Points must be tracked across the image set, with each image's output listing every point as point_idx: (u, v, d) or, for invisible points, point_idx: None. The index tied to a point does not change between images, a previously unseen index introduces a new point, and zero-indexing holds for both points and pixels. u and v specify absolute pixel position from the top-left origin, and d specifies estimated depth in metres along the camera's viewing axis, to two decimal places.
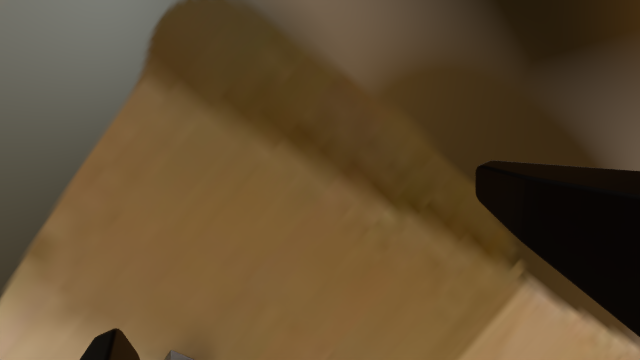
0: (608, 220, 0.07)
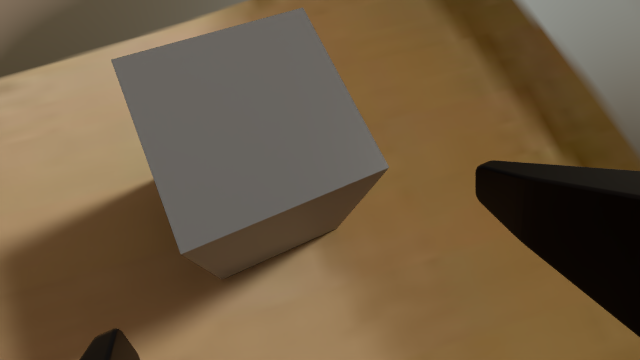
0: (608, 220, 0.07)
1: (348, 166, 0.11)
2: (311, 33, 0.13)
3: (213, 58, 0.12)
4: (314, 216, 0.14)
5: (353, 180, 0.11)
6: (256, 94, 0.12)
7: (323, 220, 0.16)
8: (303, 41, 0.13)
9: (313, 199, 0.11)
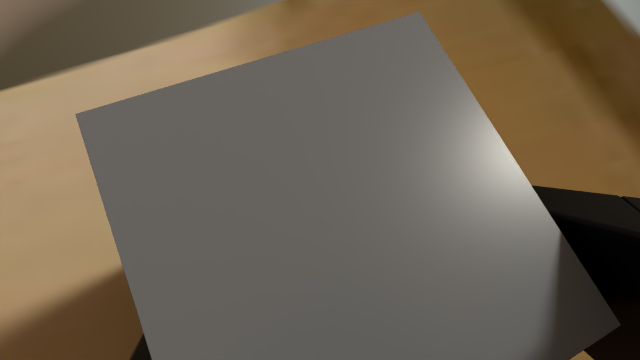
0: None
1: (547, 327, 0.06)
2: (440, 57, 0.07)
3: (271, 108, 0.06)
4: None
5: (561, 359, 0.06)
6: (357, 178, 0.06)
7: None
8: (428, 72, 0.07)
9: None
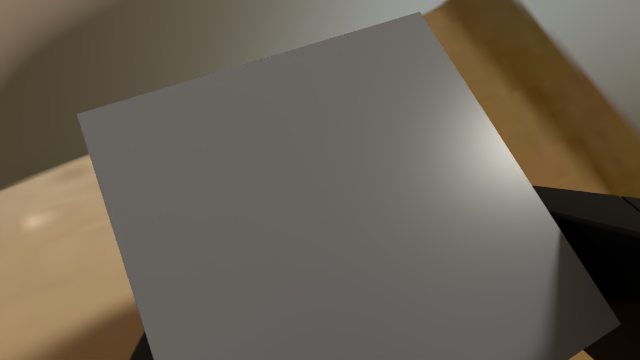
0: None
1: (547, 326, 0.06)
2: (440, 57, 0.07)
3: (272, 108, 0.06)
4: None
5: (561, 358, 0.06)
6: (358, 178, 0.06)
7: None
8: (429, 72, 0.07)
9: None
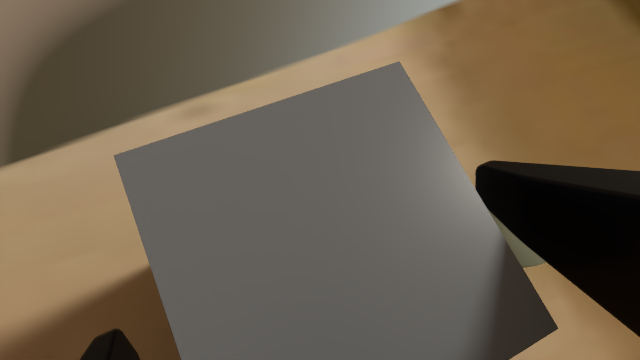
0: (608, 220, 0.07)
1: (497, 330, 0.07)
2: (416, 102, 0.09)
3: (273, 148, 0.08)
4: None
5: (507, 355, 0.07)
6: (344, 207, 0.08)
7: None
8: (405, 115, 0.08)
9: None
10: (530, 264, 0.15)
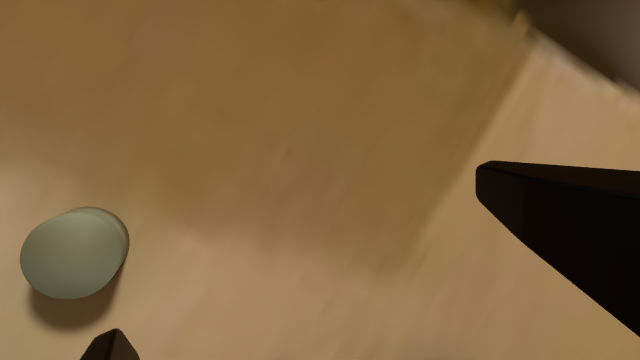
0: (608, 220, 0.07)
1: None
2: None
3: None
4: None
5: None
6: None
7: None
8: None
9: None
10: (105, 283, 0.15)
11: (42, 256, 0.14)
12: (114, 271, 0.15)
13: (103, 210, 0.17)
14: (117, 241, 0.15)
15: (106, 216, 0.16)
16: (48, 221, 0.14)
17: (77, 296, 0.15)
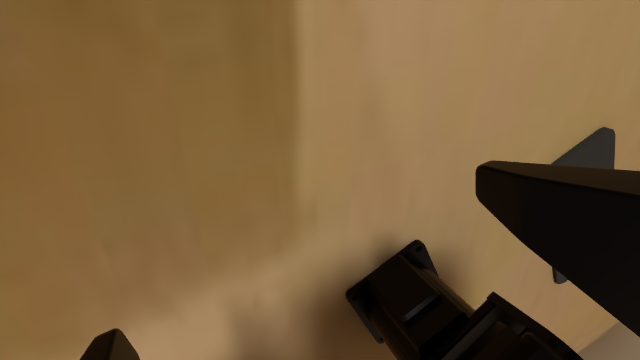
0: (608, 220, 0.07)
1: None
2: None
3: None
4: None
5: None
6: None
7: None
8: None
9: None
10: None
11: None
12: None
13: None
14: None
15: None
16: None
17: None
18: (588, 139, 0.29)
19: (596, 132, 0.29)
